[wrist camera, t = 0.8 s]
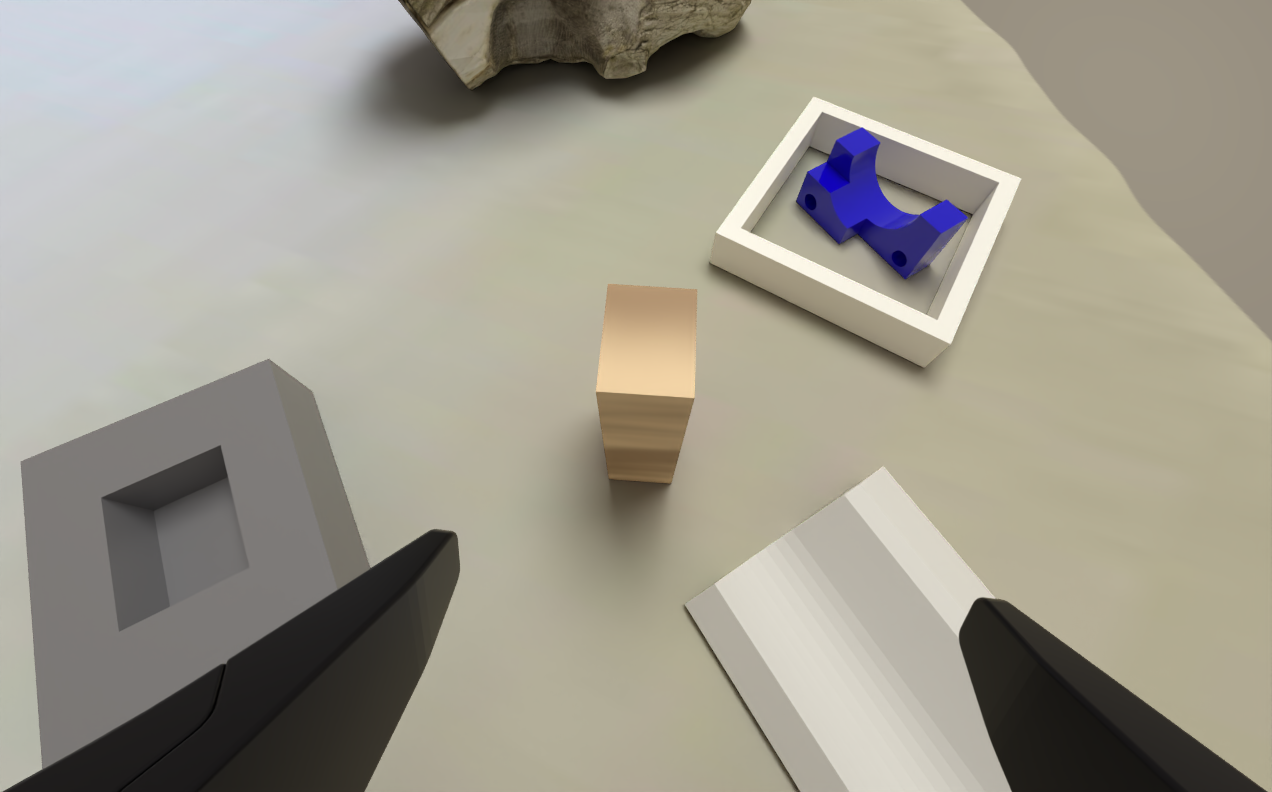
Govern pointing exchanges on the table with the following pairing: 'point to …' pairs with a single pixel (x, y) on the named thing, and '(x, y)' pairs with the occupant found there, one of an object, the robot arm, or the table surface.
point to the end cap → (177, 546)
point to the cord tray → (843, 297)
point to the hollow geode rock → (564, 31)
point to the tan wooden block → (646, 379)
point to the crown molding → (857, 649)
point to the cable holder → (873, 208)
